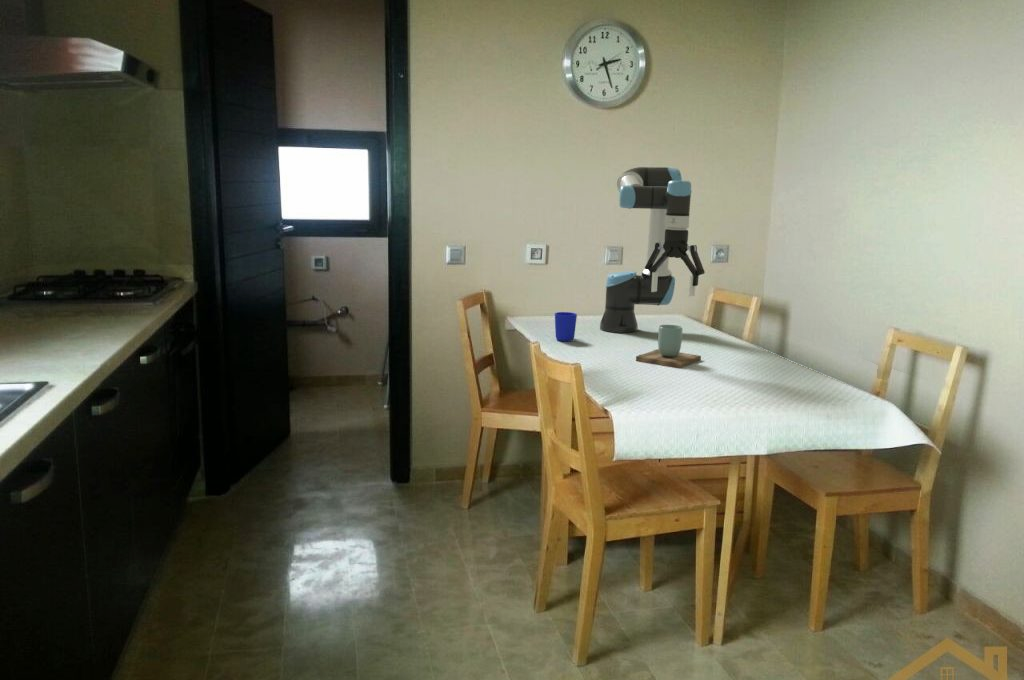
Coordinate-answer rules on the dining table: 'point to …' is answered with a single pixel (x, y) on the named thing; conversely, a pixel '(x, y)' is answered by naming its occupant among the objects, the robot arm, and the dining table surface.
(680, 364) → the board
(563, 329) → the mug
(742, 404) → the dining table surface
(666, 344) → the cup
